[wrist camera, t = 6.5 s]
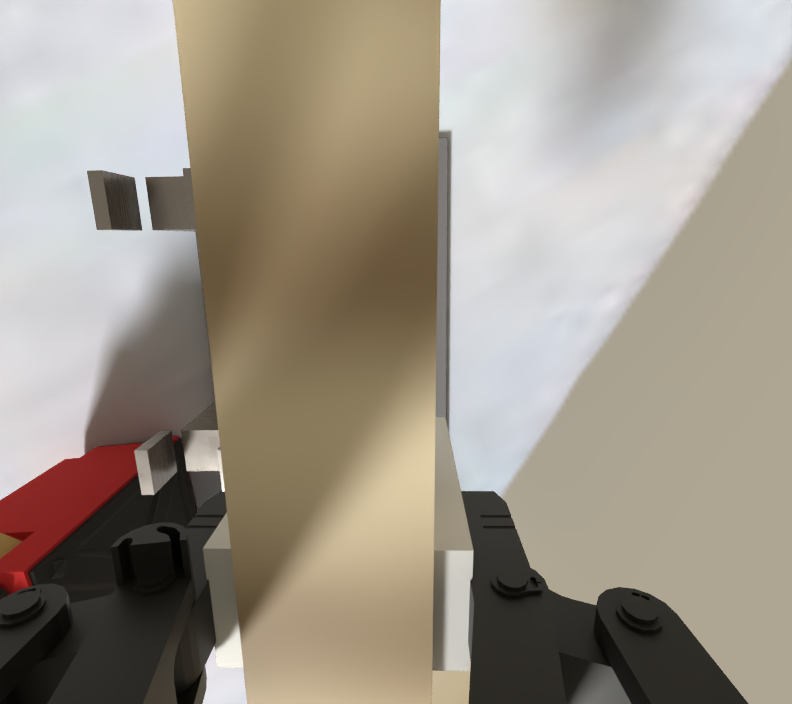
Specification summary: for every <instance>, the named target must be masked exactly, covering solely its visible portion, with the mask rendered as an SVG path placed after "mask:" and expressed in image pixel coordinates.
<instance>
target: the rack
mask: <svg viewBox="0 0 792 704" xmlns="http://www.w3.org/2000/svg"><path fill="white" fill-rule="evenodd" d="M87 174H88V180H89V185H90V191H91V197H92V203H93V209H94V215H95V221H96V227H97V230H125V231H134V230H142V226H141V219H140V212H139V205H138V198H137V191H136V185H135V178H134V177H129V176H125V175H120V174H116V173H111V172H107V171H102V170H101V171H87ZM183 175H184V176H180V177H145V178H146V185H147V192H148V200H149V207H150V214H151V221H152V228H153V230H166V231H195V232H196V240H197V248H198V257H199V265H200V273H201V282H202V290H203V280H202V271H201V262H200V252H199V243H198V233H197V224H196V214H195V205H194V195H193V186H192V177H191V168H183ZM203 298H204V290H203ZM204 307H205V299H204ZM205 315H206V309H205ZM206 324H207V318H206ZM207 332H208V328H207ZM208 340H209V337H208ZM209 349H210V347H209ZM210 357H211V356H210ZM181 434H182V441H183V448H184V455H185V462H186V469H187V471H220V478H221V486H222V492H225V488H224V479H223V469H222V460H221V450H220V441H219V431H218V422H217V413H216V403H215V402H214V403H213V404H211V405H210V406H209V407H208V408H207V409H206V410H204V411H203V412H202V413H201V414H200V415H199V416H197V417H196V418H195V419H194V420H193V421H192V422H190V423H189V424H188V425H187V426H186V427H185V428H183V429H182V430H181ZM134 452H135V458H136V464H137V470H138V476H139V482H140V488H141V494H142V495H155V494H156V493H157V492H158V491H159V490H160V488H161V487H162V486H163V485H164V484H165V483H166V482H167V481H168V480H169V479H170V478H171V477H172V476H173V475H174V474H175V473H176V472H177V465H176V458H175V451H174V445H173V438H172V431H159V432H157V433H156V434H155V435H154V436H152V437H151V438H150V439H148V440H147V441H146V442H145V443H143V444H142V445H141V446H140V447H138V448H137V449H136V450H134Z"/></svg>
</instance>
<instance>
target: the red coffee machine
mask: <svg viewBox="0 0 792 704" xmlns="http://www.w3.org/2000/svg"><path fill="white" fill-rule="evenodd" d="M172 438H173V445H174V451H175V458H176V465H177V472H176V473H175V474H174V475H173V476H172V477H171V478H170V479H169V480H168V481H167V482H166V483H165V484H164V485H163V486H162V487H161V488H160V490H159V491H158V492H157V493H156V494H155V495H142V494H141V488H140V482H139V476H138V470H137V464H136V458H135V452H134V450H136V449H137V448H138V447H140V446H141V445H142V444H143V443H135V444H123V445H112V446H101V447H96V448H94V449H93V450H91V451H90V452H88V453H87V454H85V455H84V456H82V457H81V458H73V459H65V460H63V461H62V462H60V463H58V464H57V465H55V466H54V467H52V468H51V469H49V470H47V471H46V472H44V473H43V474H41V475H40V476H38V477H36V478H35V479H33V480H32V481H30V482H29V483H27V484H25V485H24V486H22V487H21V488H19V489H17V490H16V491H14V492H13V493H11V494H10V495H8V496H6V497H5V498H3V499H2V500H0V600H1V599H2V598H4V597H6V596H8V595H10V594H12V593H14V592H17V591H18V590H21V589H24V588H28V587H31V586H35V585H40V584H56V585H60V586H63V587H64V588H65V590H66V591H67V592H68V596H69V601H70V603H75V602H80V601H84V600H89V599H93V598H98V597H103V596H106V595H110V594H113V592H114V590H115V589H116V587H117V582H116V576H115V571H114V565H113V559H112V554H111V548H110V547H111V546H112V545H113V544H114V543H115V542H116V541H117V540H118V539H119V538H120V537H122V536H124V535H125V534H127V533H129V532H130V531H132V530H135V529H138V528H140V527H143V526H146V525H150V524H155V523H160V522H165V523H176V524H179V525H182V526H183V527H184V528H187V525H188V524H189V522H190V521H191V520H192V519H193V517H195V515H196V513H197V508H196V504H195V500H194V495H193V491H192V486H191V482H190V477H189V473H188V471H187V469H186V462H185V455H184V451H183V446H182V442H181V439H180V440H179V437H178V436H174V437H172Z"/></svg>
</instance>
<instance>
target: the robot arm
mask: <svg viewBox="0 0 792 704" xmlns="http://www.w3.org/2000/svg"><path fill="white" fill-rule="evenodd" d="M110 548H111V554H112V559H113V565H114V571H115V576H116V582H117V587H116V589H115V590H114V592H113V594H110V595H106V596H103V597H98V598H93V599H89V600H84V601H80V602H75V603H70V601H69V596H68V592H67V591H66V590H65V588H64V587H63V586H60V585H56V584H40V585H35V586H31V587H28V588H24V589H21V590H18V591H17V592H14V593H12V594H10V595H8V596H6V597H4V598H2V599H1V600H0V704H202V703H203V699H204V695H205V691H206V679H207V677H206V669H205V664H206V662H207V660H208V658H209V655H210V653H211V651H212V649H213V647H214V645H215V652H216V660H217V667H233V668H243V658H242V649H241V639H240V630H239V620H238V611H237V601H236V592H235V583H234V573H233V564H232V554H231V545H230V535H229V526H228V516H227V507H226V498H225V492H220V493H218V494H217V495H215V496H214V497H212V498H211V499H209V500H208V501H206V502H205V503H204V504H203V506H202V507H201V508H200V509H199V511H198V512H197V513H196V515H195V517H193V519H192V520H191V521H190V522H189V524H188V525H187V528H184V527H183V526H182V525H179V524H176V523H165V522H160V523H155V524H150V525H146V526H143V527H140V528H138V529H135V530H132V531H130V532H129V533H127V534H125V535H124V536H122V537H120V538H119V539H118V540H117V541H116V542H115V543H114V544H113V545H112V546H111V547H110ZM470 659H471V672H470V691H469V704H748V703H747V701H746V700H745V699H744V698H743V696H742V695H741V694H740V693H739V692H738V690H737V689H736V688H735V686H734V685H733V684H732V683H731V682H730V680H729V679H728V678H727V676H726V675H725V674H724V673H723V671H722V670H721V669H720V668H719V666H718V665H717V664H716V663H715V661H714V660H713V659H712V658H711V657H710V655H709V654H708V653H707V651H706V650H705V649H704V648H703V646H702V645H701V644H700V643H699V642H698V640H697V639H696V637H695V636H694V635H693V634H692V632H691V631H690V630H689V629H688V627H687V626H686V625H685V624H684V622H683V621H682V620H681V619H680V617H679V616H678V615H677V614H676V613H675V612H674V611H673V610H672V609H671V608H670V607H669V606H668V605H667V604H666V603H664V602H662V601H661V600H659V599H657V598H656V597H654V596H652V595H650V594H648V593H645V592H642V591H639V590H636V589H631V588H621V587H618V588H613V589H608V590H606V591H605V592H603V593H602V594H601V595H600V596H599V597H598V601H597V605H592V604H588V603H584V602H580V601H576V600H572V599H569V598H566V597H563V596H561V595H559V594H557V593H555V592H553V591H551V590H549V589H548V586H547V584H546V582H545V580H544V578H542V576H540V575H539V574H538V573H537V572H536V571H535V570H533V569H531V568H530V565H529V562H528V560H527V557H526V554H525V552H524V549H523V547H522V544H521V541H520V538H519V536H518V534H517V530H516V529H515V525H514V522H513V520H512V518H511V514H510V512H509V509H508V506H507V504H506V502H505V501H504V500H503V499H502V498H501V497H500V496H498V495H497V494H496V493H495V492H494V491H461V489H460V484H459V479H458V475H457V470H456V465H455V460H454V456H453V451H452V446H451V441H450V437H449V432H448V427H447V422H446V418H445V417H435V497H434V579H433V661H432V670H437V671H438V670H440V671H469V665H470V663H469V662H470Z"/></svg>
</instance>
